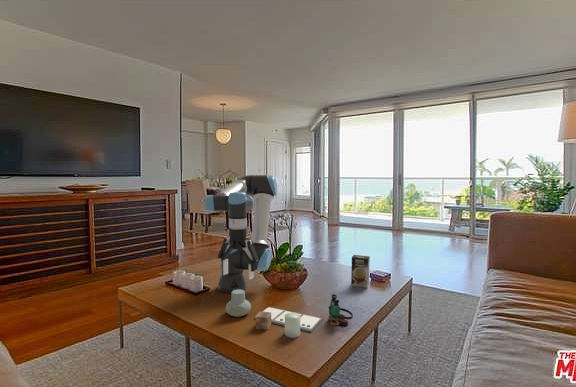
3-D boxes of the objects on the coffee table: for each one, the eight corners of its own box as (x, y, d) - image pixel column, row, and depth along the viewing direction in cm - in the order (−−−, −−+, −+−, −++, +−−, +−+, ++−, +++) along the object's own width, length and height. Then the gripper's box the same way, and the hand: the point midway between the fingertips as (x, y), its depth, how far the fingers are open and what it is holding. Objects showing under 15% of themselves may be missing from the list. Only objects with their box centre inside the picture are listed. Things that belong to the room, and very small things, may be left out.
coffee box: (350, 286, 176) (351, 257, 175) (353, 282, 182) (353, 254, 181) (367, 288, 173) (368, 258, 172) (369, 284, 179) (369, 255, 178)
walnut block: (255, 328, 127) (255, 316, 127) (259, 323, 132) (259, 311, 132) (267, 330, 126) (267, 317, 126) (271, 324, 131) (271, 312, 131)
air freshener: (251, 309, 145) (251, 288, 144) (250, 317, 137) (249, 294, 136) (227, 310, 145) (227, 288, 144) (224, 318, 136) (224, 295, 136)
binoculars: (356, 302, 128) (332, 300, 128) (353, 328, 129) (329, 326, 128) (350, 294, 137) (327, 292, 137) (347, 318, 138) (324, 316, 137)
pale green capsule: (281, 335, 122) (281, 317, 121) (289, 328, 127) (289, 311, 127) (296, 339, 119) (296, 320, 119) (302, 332, 124) (303, 314, 124)
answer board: (254, 318, 136) (254, 316, 136) (268, 308, 146) (268, 305, 146) (311, 332, 124) (311, 329, 124) (322, 320, 134) (322, 317, 134)
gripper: (209, 227, 141) (210, 274, 142) (257, 231, 130) (257, 283, 131) (220, 224, 148) (220, 270, 149) (267, 228, 136) (267, 278, 137)
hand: (238, 276), depth 140 cm, fingers open, 13 cm apart
